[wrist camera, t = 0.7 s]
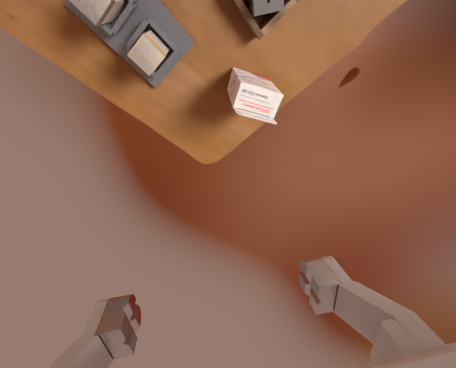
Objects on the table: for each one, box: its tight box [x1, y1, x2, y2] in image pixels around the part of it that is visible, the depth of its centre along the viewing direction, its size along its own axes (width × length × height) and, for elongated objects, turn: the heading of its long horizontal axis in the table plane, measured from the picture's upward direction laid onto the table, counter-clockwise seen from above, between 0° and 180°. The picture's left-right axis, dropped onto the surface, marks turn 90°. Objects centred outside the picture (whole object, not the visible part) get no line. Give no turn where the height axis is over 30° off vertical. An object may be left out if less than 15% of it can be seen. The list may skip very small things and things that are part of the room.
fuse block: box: [64, 0, 195, 88], centre depth 38 cm, size 12×18×4 cm, turn 41°
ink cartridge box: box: [227, 67, 283, 124], centre depth 42 cm, size 9×5×15 cm, turn 74°
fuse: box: [127, 29, 170, 76], centre depth 37 cm, size 4×4×9 cm
